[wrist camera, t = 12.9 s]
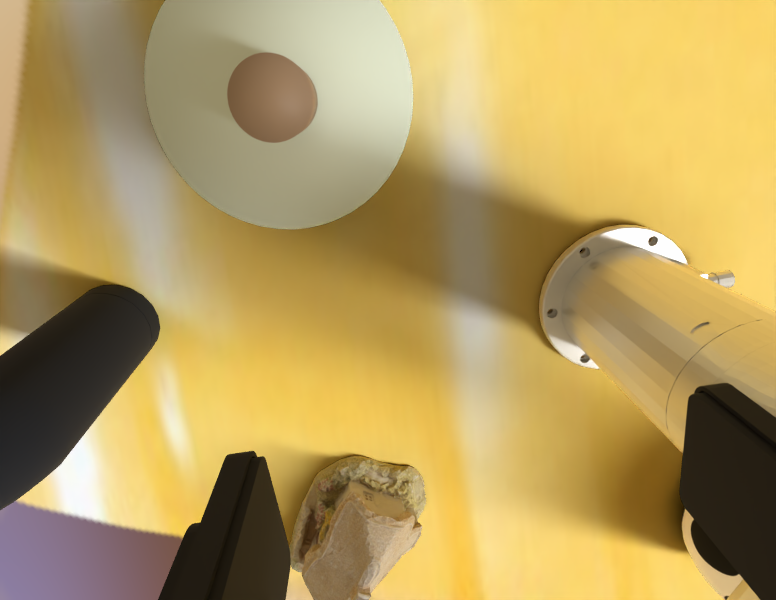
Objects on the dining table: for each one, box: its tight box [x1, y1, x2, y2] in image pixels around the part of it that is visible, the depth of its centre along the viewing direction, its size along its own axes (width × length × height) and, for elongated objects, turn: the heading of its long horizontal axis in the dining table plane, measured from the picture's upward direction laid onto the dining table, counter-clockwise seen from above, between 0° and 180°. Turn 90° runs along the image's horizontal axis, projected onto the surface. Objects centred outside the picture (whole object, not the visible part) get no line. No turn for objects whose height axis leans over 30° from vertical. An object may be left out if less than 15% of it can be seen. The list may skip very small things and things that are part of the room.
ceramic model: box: [289, 456, 426, 600], centre depth 44 cm, size 14×11×10 cm
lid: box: [144, 0, 413, 229], centre depth 27 cm, size 15×15×6 cm
